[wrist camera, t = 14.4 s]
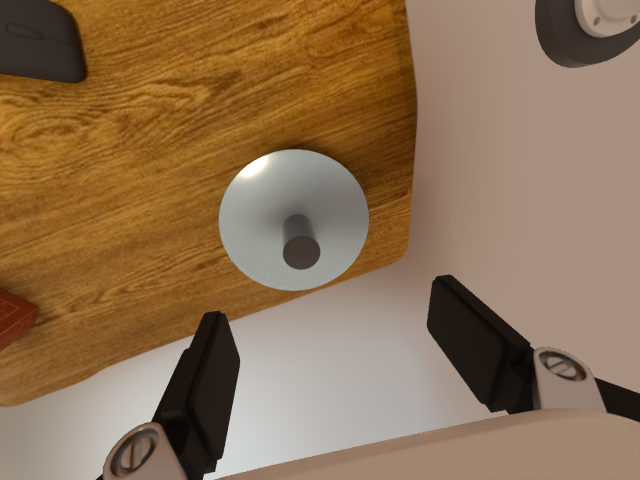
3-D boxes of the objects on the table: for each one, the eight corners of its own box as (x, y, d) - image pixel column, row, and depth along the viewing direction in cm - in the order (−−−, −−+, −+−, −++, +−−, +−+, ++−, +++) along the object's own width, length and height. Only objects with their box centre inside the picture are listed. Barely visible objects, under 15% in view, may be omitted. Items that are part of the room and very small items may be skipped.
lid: (364, 141, 23) (395, 143, 17) (365, 274, 29) (388, 311, 23) (202, 157, 21) (171, 167, 15) (239, 294, 27) (228, 339, 21)
